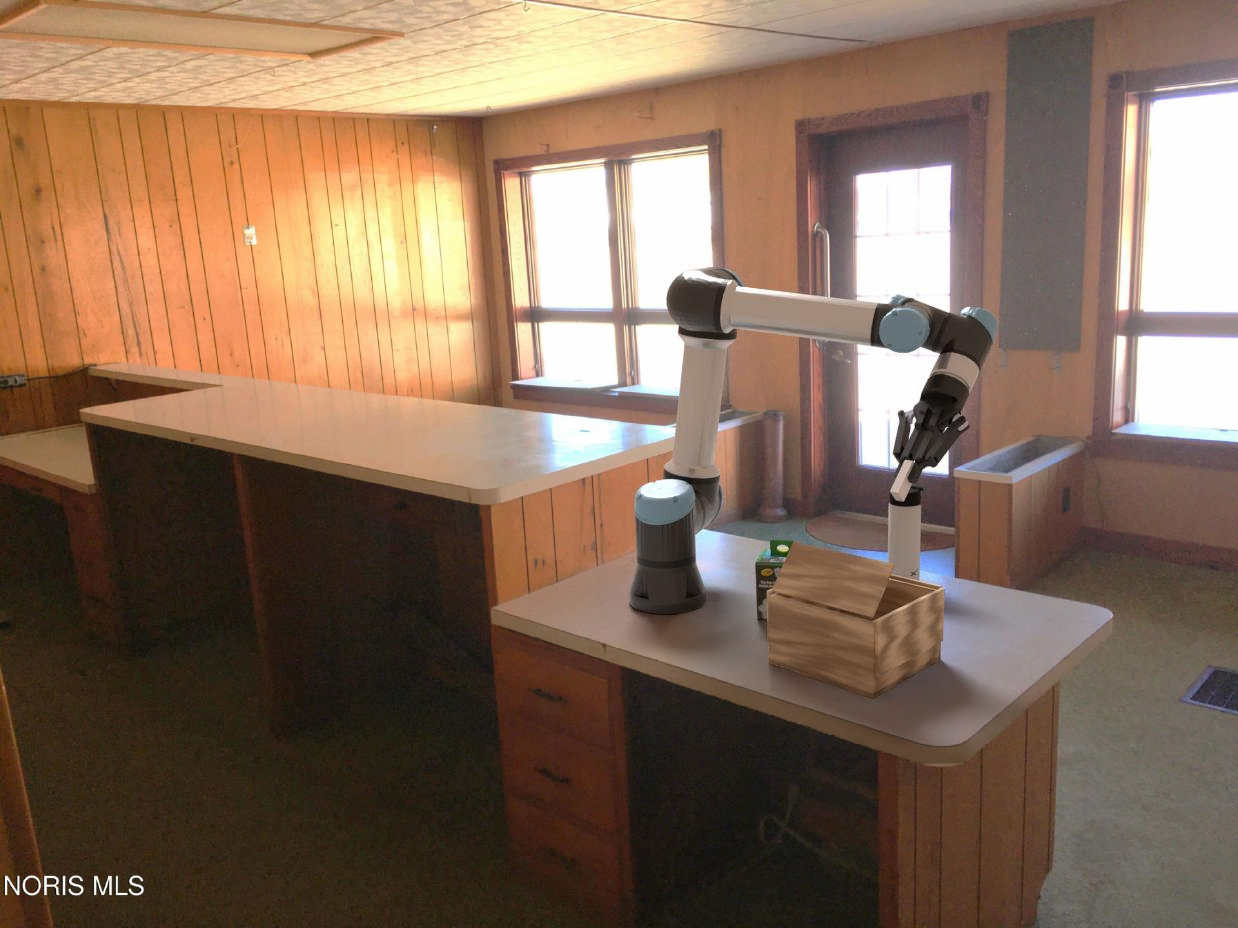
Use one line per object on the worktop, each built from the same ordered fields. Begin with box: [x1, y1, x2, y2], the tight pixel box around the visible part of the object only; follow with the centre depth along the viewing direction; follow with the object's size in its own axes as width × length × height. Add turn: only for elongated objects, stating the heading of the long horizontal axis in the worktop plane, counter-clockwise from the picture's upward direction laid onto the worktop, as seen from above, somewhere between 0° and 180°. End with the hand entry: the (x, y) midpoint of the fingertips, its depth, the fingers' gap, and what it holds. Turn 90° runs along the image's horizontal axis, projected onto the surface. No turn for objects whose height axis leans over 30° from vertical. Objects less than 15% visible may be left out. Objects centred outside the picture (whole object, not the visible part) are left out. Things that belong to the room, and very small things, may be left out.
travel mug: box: [887, 485, 924, 580], centre depth 201 cm, size 6×7×20 cm
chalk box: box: [754, 539, 794, 621], centre depth 187 cm, size 9×9×15 cm
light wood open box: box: [766, 574, 946, 699], centre depth 164 cm, size 21×21×12 cm
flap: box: [772, 540, 895, 618], centre depth 158 cm, size 1×19×9 cm
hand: (896, 496), depth 167 cm, fingers closed
